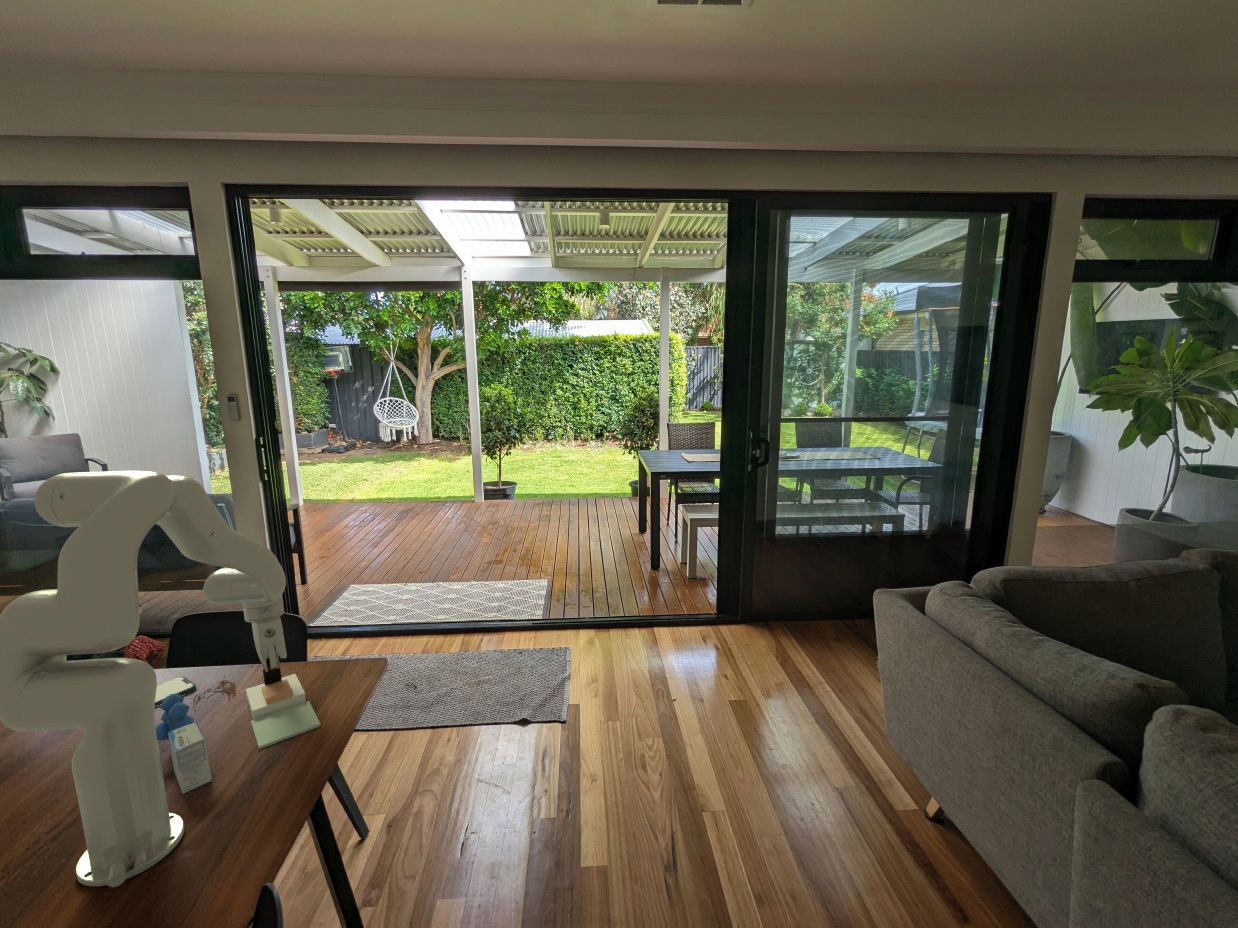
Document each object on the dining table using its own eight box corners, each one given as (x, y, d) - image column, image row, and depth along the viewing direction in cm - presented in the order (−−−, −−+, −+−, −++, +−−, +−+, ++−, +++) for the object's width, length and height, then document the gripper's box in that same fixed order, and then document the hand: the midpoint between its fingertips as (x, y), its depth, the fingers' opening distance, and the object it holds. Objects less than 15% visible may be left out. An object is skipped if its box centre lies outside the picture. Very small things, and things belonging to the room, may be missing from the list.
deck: (306, 702, 123) (305, 692, 123) (253, 721, 117) (252, 710, 116) (296, 682, 131) (295, 673, 131) (246, 698, 125) (245, 688, 125)
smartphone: (110, 729, 116) (198, 691, 129) (109, 722, 116) (197, 684, 129) (96, 715, 121) (183, 680, 134) (95, 709, 120) (182, 674, 134)
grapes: (146, 752, 107) (137, 696, 105) (187, 734, 113) (180, 681, 111) (164, 777, 100) (154, 718, 99) (208, 756, 106) (199, 700, 104)
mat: (320, 725, 115) (320, 723, 115) (259, 749, 108) (258, 746, 108) (309, 703, 123) (308, 700, 123) (251, 723, 116) (250, 720, 116)
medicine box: (212, 781, 99) (205, 738, 98) (181, 795, 96) (174, 751, 95) (203, 761, 105) (197, 720, 103) (173, 773, 101) (166, 731, 100)
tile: (293, 696, 122) (292, 689, 121) (266, 705, 118) (266, 698, 118) (287, 685, 126) (286, 678, 126) (262, 693, 123) (261, 687, 122)
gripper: (289, 615, 119) (298, 691, 122) (277, 595, 130) (285, 665, 133) (248, 625, 114) (259, 705, 117) (239, 604, 126) (249, 677, 129)
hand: (273, 684), depth 125 cm, fingers closed
